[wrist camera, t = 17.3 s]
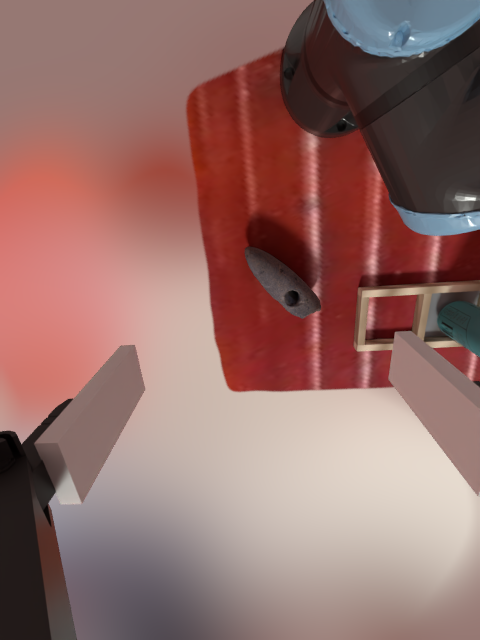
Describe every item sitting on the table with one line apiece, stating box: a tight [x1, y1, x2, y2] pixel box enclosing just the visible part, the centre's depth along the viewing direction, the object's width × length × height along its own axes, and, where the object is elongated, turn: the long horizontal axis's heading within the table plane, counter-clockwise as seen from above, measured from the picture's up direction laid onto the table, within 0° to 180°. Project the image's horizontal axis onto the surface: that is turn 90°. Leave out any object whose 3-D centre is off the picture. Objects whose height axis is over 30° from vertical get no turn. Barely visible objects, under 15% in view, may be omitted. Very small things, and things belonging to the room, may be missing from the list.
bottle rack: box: [354, 280, 480, 351], centre depth 52 cm, size 22×11×2 cm, turn 94°
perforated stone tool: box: [245, 247, 321, 318], centre depth 48 cm, size 15×5×7 cm, turn 46°
